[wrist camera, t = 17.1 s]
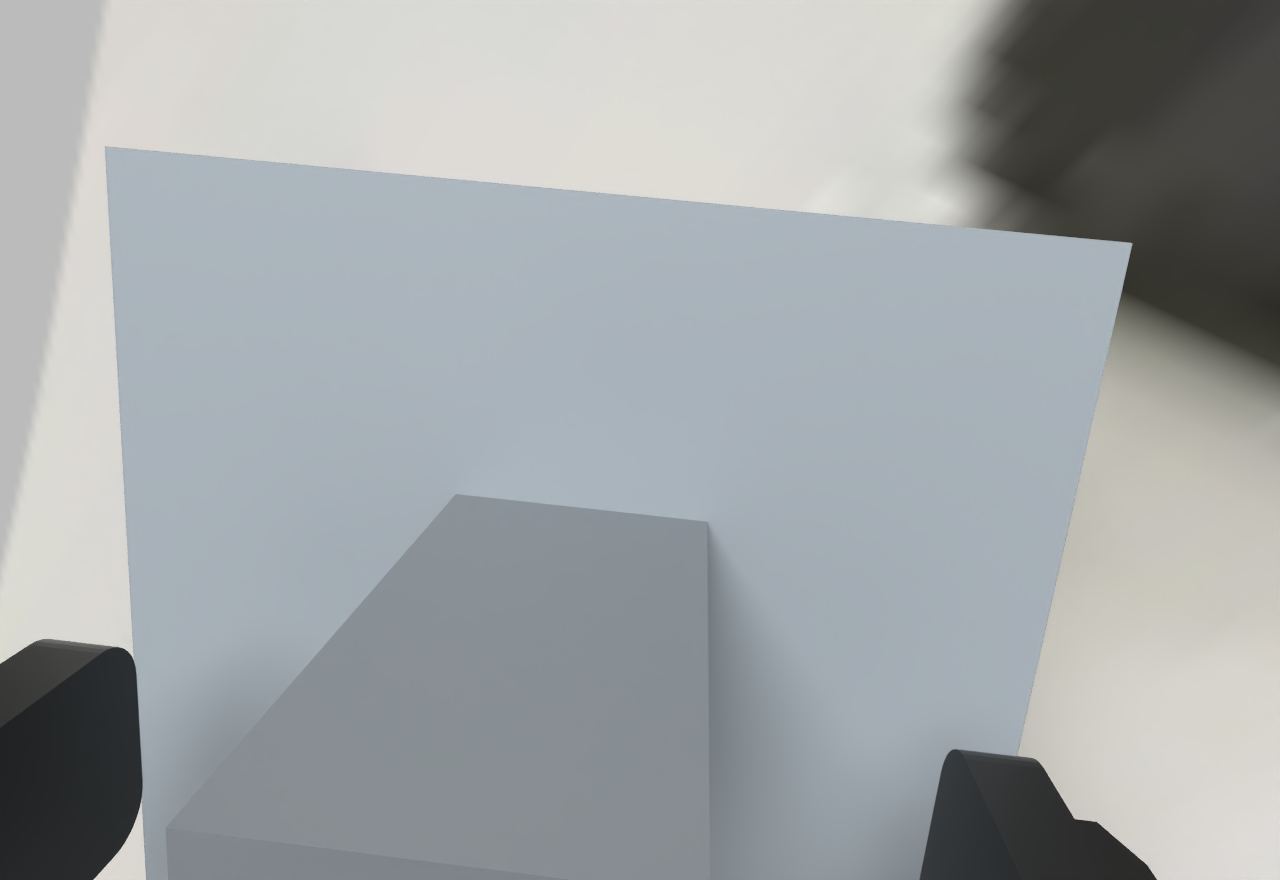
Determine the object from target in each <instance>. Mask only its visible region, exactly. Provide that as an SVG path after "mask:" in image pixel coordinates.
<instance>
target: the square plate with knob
mask: <svg viewBox="0 0 1280 880" xmlns="http://www.w3.org/2000/svg"><path fill="white" fill-rule="evenodd" d="M105 157H106V175H107V193H108V210H109V228H110V246H111V263H112V281H113V299H114V317H115V334H116V352H117V370H118V388H119V405H120V423H121V441H122V458H123V476H124V494H125V512H126V529H127V547H128V565H129V583H130V600H131V618H132V636H133V653H134V663H135V667H136V673H137V689H138V707H139V725H140V742H141V760H142V778H143V790H142V813H143V831H144V849H145V866H146V880H919V879H920V874H921V869H922V864H923V859H924V854H925V849H926V844H927V839H928V834H929V829H930V824H931V819H932V814H933V809H934V804H935V799H936V794H937V789H938V784H939V779H940V774H941V770H942V766H943V763H944V760H945V758H946V756H947V754H948V753H949V752H950V751H951V750H953V749H960V750H968V751H977V752H985V753H993V754H1002V755H1010V756H1017V754H1018V749H1019V745H1020V740H1021V736H1022V732H1023V727H1024V723H1025V718H1026V714H1027V709H1028V705H1029V700H1030V696H1031V692H1032V687H1033V683H1034V678H1035V674H1036V669H1037V665H1038V660H1039V656H1040V652H1041V647H1042V643H1043V638H1044V634H1045V629H1046V625H1047V620H1048V616H1049V611H1050V607H1051V603H1052V598H1053V594H1054V589H1055V585H1056V580H1057V576H1058V571H1059V567H1060V563H1061V558H1062V554H1063V549H1064V545H1065V540H1066V536H1067V531H1068V527H1069V523H1070V518H1071V514H1072V509H1073V505H1074V500H1075V496H1076V491H1077V487H1078V483H1079V478H1080V474H1081V469H1082V465H1083V460H1084V456H1085V451H1086V447H1087V443H1088V438H1089V434H1090V429H1091V425H1092V420H1093V416H1094V411H1095V407H1096V402H1097V398H1098V394H1099V389H1100V385H1101V380H1102V376H1103V371H1104V367H1105V362H1106V358H1107V354H1108V349H1109V345H1110V340H1111V336H1112V331H1113V327H1114V322H1115V318H1116V314H1117V309H1118V305H1119V300H1120V296H1121V291H1122V287H1123V282H1124V278H1125V274H1126V269H1127V265H1128V260H1129V256H1130V251H1131V247H1132V243H1125V242H1114V241H1104V240H1093V239H1083V238H1072V237H1061V236H1051V235H1040V234H1030V233H1019V232H1008V231H998V230H987V229H976V228H966V227H955V226H945V225H934V224H923V223H913V222H902V221H892V220H881V219H870V218H860V217H849V216H839V215H828V214H817V213H807V212H796V211H785V210H775V209H764V208H754V207H743V206H732V205H722V204H711V203H701V202H690V201H679V200H669V199H658V198H648V197H637V196H626V195H616V194H605V193H594V192H584V191H573V190H563V189H552V188H541V187H531V186H520V185H510V184H499V183H488V182H478V181H467V180H457V179H446V178H435V177H425V176H414V175H403V174H393V173H382V172H372V171H361V170H350V169H340V168H329V167H319V166H308V165H297V164H287V163H276V162H266V161H255V160H244V159H234V158H223V157H212V156H202V155H191V154H181V153H170V152H159V151H149V150H138V149H128V148H117V147H106V146H105Z"/></svg>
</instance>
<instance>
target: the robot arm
mask: <svg viewBox="0 0 1280 880" xmlns="http://www.w3.org/2000/svg"><path fill="white" fill-rule="evenodd" d="M142 790H143V778H142V760H141V742H140V725H139V707H138V689H137V673H136V667H135V663H134V660H133V658H132V656H131V655H130V653H129V652H128V651H126V650H125V649H123V648H119V647H112V646H103V645H95V644H86V643H78V642H70V641H61V640H53V639H42V640H39V641H36V642H34V643H32V644H30V645H29V646H27V647H26V648H24V649H23V650H21V651H19V652H18V653H16V654H15V655H13V656H12V657H10V658H9V659H7V660H6V661H4V662H2V663H1V664H0V880H93V879H94V878H95V877H96V876H97V875H98V874H99V873H100V872H101V871H102V870H103V868H104V867H105V866H106V865H107V864H108V863H109V862H110V861H111V860H112V859H113V857H114V856H115V855H116V854H117V853H118V851H119V850H120V849H121V847H122V846H123V844H124V843H125V841H126V839H127V838H128V836H129V834H130V832H131V830H132V828H133V825H134V823H135V820H136V817H137V815H138V811H139V808H140V803H141V798H142ZM919 880H1157V879H1156V878H1155V876H1154V875H1153V873H1152V872H1151V870H1150V869H1149V867H1148V866H1147V865H1146V864H1145V863H1144V862H1143V861H1142V860H1140V859H1139V858H1138V857H1137V856H1136V855H1135V854H1133V853H1132V852H1131V851H1130V850H1129V849H1128V848H1126V847H1125V846H1124V845H1123V844H1122V843H1121V842H1119V841H1118V840H1117V839H1116V838H1115V837H1113V836H1112V835H1111V834H1110V833H1109V832H1108V831H1106V830H1105V829H1104V828H1103V827H1102V826H1101V825H1099V824H1098V823H1097V822H1092V821H1084V820H1075V819H1074V818H1073V816H1072V814H1071V813H1070V811H1069V809H1068V808H1067V806H1066V804H1065V803H1064V801H1063V799H1062V798H1061V796H1060V795H1059V793H1058V791H1057V790H1056V788H1055V786H1054V785H1053V783H1052V781H1051V780H1050V778H1049V776H1048V775H1047V773H1046V771H1045V770H1044V768H1043V767H1042V765H1041V764H1040V763H1039V762H1038V761H1037V760H1036V759H1033V758H1027V757H1019V756H1010V755H1002V754H993V753H985V752H977V751H968V750H960V749H953V750H951V751H950V752H949V753H948V754H947V756H946V758H945V760H944V763H943V766H942V770H941V774H940V779H939V784H938V789H937V794H936V799H935V804H934V809H933V814H932V819H931V824H930V829H929V834H928V839H927V844H926V849H925V854H924V859H923V864H922V869H921V874H920V879H919Z"/></svg>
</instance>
